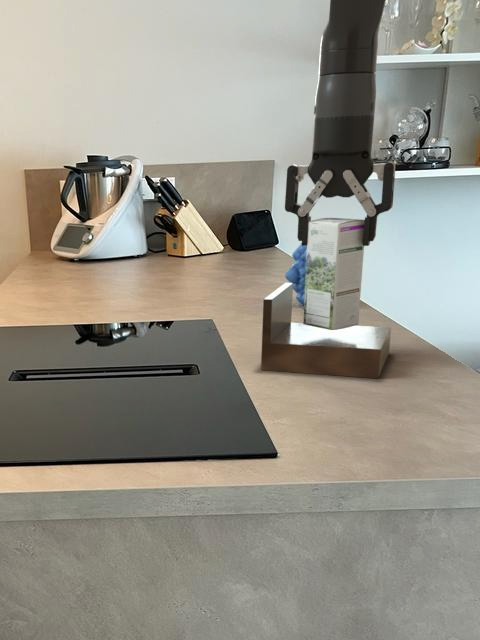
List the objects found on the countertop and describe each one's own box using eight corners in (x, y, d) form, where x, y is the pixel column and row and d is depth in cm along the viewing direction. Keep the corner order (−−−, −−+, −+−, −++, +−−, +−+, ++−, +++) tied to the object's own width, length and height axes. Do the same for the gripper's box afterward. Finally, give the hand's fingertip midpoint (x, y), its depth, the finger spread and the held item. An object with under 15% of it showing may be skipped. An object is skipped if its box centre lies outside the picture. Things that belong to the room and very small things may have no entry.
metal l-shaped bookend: (388, 353, 117) (395, 286, 113) (378, 378, 106) (385, 303, 102) (282, 347, 123) (285, 282, 119) (260, 370, 111) (263, 299, 108)
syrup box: (360, 325, 112) (368, 218, 106) (331, 331, 109) (338, 221, 103) (329, 319, 116) (336, 216, 110) (300, 325, 113) (306, 219, 107)
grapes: (273, 301, 158) (275, 239, 154) (305, 299, 159) (308, 238, 154) (293, 312, 148) (296, 246, 143) (327, 310, 148) (332, 244, 144)
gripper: (405, 112, 102) (392, 242, 108) (294, 117, 107) (289, 241, 114) (399, 110, 96) (386, 249, 102) (282, 116, 101) (277, 248, 107)
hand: (335, 244), depth 108 cm, fingers closed on syrup box, 7 cm apart
